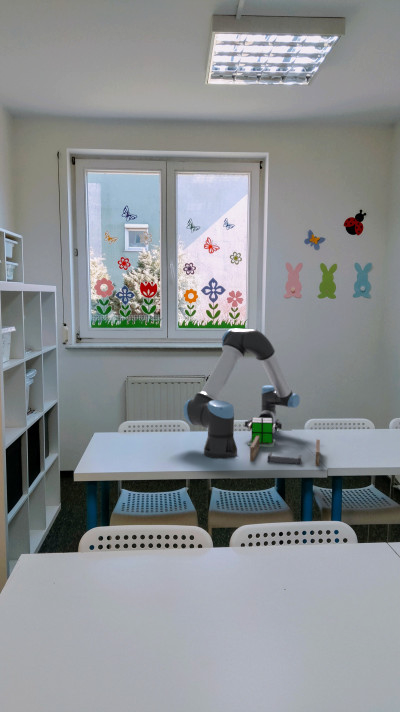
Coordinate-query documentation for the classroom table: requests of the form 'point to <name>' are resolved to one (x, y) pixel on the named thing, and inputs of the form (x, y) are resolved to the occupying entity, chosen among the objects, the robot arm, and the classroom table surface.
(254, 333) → the robot arm
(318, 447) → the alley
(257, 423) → the puzzle cube
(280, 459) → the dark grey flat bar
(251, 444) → the mat
